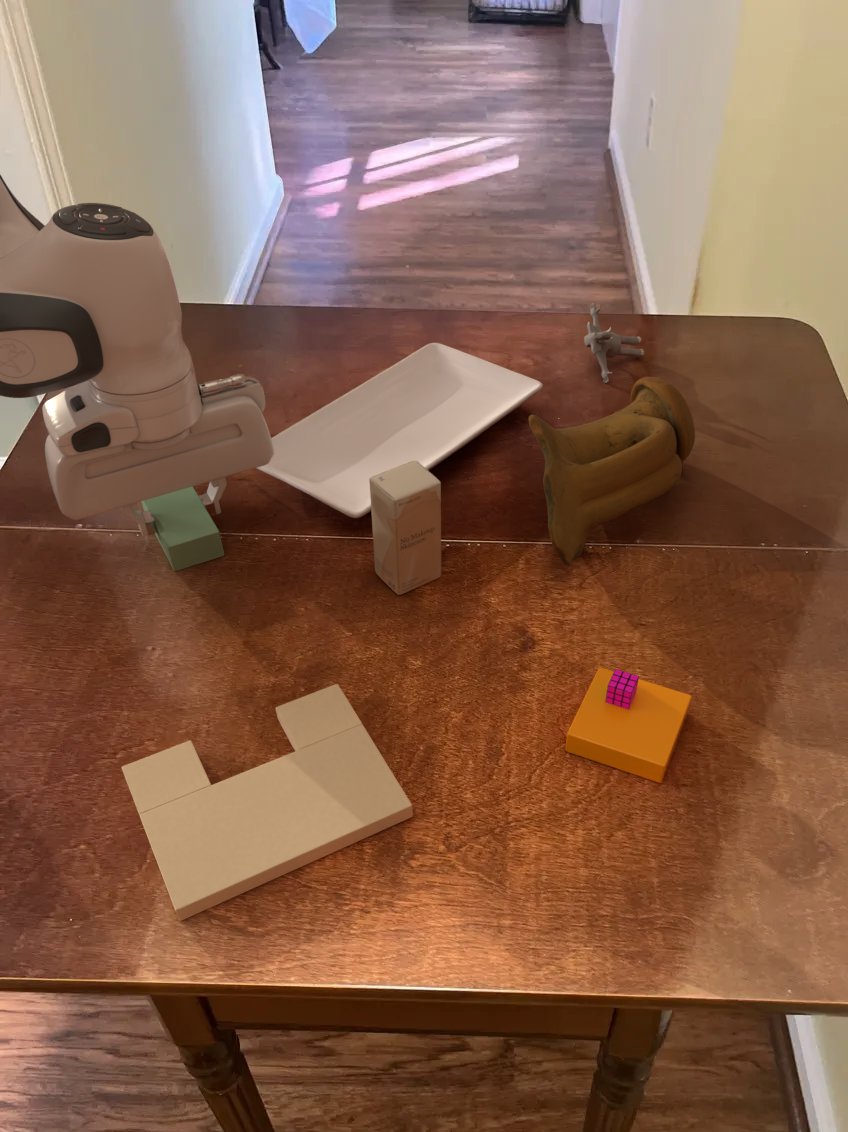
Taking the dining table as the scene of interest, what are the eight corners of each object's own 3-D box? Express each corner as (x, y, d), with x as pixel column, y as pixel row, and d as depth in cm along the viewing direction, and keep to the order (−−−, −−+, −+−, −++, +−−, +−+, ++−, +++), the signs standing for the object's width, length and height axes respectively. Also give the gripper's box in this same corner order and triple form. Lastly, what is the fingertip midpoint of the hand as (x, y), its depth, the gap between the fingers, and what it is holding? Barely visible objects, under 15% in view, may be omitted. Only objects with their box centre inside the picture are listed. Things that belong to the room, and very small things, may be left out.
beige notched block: (179, 921, 68) (175, 910, 67) (125, 778, 76) (121, 766, 75) (413, 816, 74) (412, 805, 73) (339, 695, 83) (337, 683, 82)
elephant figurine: (662, 377, 120) (608, 371, 114) (628, 395, 125) (575, 390, 119) (647, 299, 121) (593, 290, 115) (614, 320, 125) (561, 312, 120)
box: (398, 597, 91) (391, 501, 83) (373, 572, 94) (365, 477, 86) (444, 575, 93) (442, 480, 86) (419, 551, 96) (415, 457, 88)
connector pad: (225, 555, 95) (219, 531, 93) (174, 572, 94) (167, 547, 91) (193, 500, 101) (187, 476, 99) (145, 514, 100) (138, 490, 98)
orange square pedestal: (688, 712, 82) (696, 678, 79) (661, 784, 76) (669, 750, 73) (596, 684, 84) (601, 649, 81) (564, 751, 79) (568, 716, 76)
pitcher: (449, 418, 99) (632, 336, 104) (484, 528, 106) (654, 447, 111) (531, 463, 84) (740, 366, 89) (566, 589, 91) (758, 492, 96)
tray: (243, 481, 104) (238, 453, 101) (434, 363, 121) (433, 337, 119) (360, 545, 97) (358, 516, 94) (545, 409, 114) (547, 383, 112)
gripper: (248, 354, 92) (269, 475, 102) (22, 410, 85) (68, 535, 95) (272, 385, 88) (292, 508, 98) (37, 446, 81) (84, 573, 91)
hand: (180, 522), depth 96 cm, fingers closed on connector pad, 5 cm apart
